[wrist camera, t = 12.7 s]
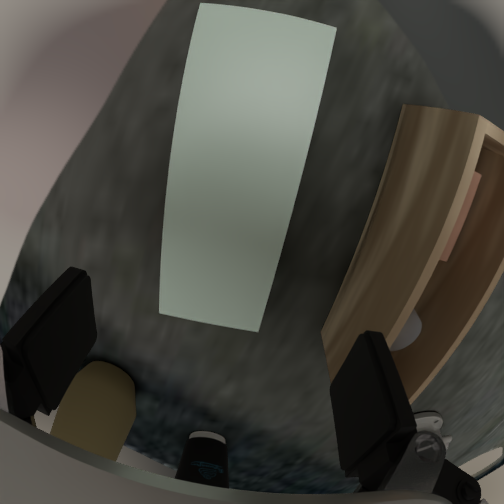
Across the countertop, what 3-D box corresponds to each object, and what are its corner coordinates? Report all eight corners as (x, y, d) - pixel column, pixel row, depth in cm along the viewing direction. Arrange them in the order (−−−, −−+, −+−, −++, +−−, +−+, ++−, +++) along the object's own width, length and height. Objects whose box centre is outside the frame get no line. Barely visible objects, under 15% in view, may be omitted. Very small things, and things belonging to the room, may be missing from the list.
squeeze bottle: (153, 402, 31) (117, 541, 15) (95, 392, 31) (49, 513, 15) (132, 356, 27) (73, 522, 11) (69, 347, 27) (0, 484, 11)
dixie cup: (226, 424, 32) (219, 505, 22) (244, 449, 36) (240, 518, 26) (168, 425, 33) (152, 499, 24) (192, 450, 37) (182, 514, 27)
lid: (327, 36, 14) (336, 27, 12) (258, 310, 23) (258, 332, 21) (208, 14, 14) (200, 2, 11) (167, 292, 23) (159, 313, 21)
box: (466, 135, 16) (544, 164, 9) (379, 338, 25) (405, 410, 18) (402, 104, 16) (479, 115, 9) (320, 331, 24) (336, 411, 17)
